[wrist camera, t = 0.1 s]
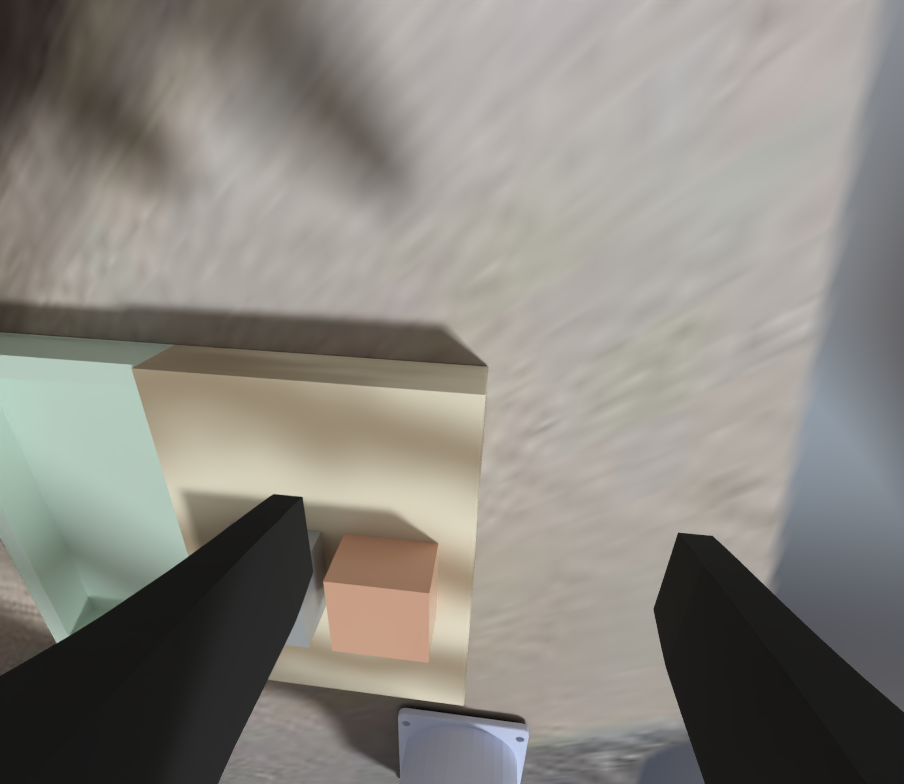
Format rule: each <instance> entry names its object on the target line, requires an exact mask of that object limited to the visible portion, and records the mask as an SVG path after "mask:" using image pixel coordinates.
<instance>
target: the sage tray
mask: <svg viewBox="0 0 904 784" xmlns="http://www.w3.org/2000/svg"><path fill="white" fill-rule="evenodd" d="M172 346H174V345H173V344H159V343H145V342H130V341H116V340H102V339H88V338H74V337H59V336H45V335H31V334H17V333H3V332H0V539H1V541H2V542H3V544H4V546H5V548H6V550H7V552H8V554H9V555H10V557H11V559H12V561H13V563H14V565H15V567H16V568H17V570H18V572H19V574H20V576H21V578H22V580H23V581H24V583H25V585H26V587H27V589H28V591H29V593H30V595H31V596H32V598H33V600H34V602H35V604H36V606H37V608H38V609H39V611H40V613H41V615H42V617H43V619H44V621H45V622H46V624H47V626H48V628H49V630H50V632H51V634H52V635H53V637H54V639H55V641H56V643H58V642H60V641H62V640H63V639H65V638H67V637H68V636H70V635H72V634H73V633H75V632H76V631H78V630H80V629H81V628H83V627H84V626H86V625H88V624H89V623H91V622H92V621H94V620H96V619H97V618H99V617H100V616H102V615H103V614H105V613H107V612H108V611H110V610H111V609H113V608H114V607H116V606H117V605H119V604H120V603H121V602H123V601H124V600H126V599H127V598H129V597H130V596H132V595H133V594H135V593H136V592H138V591H139V590H141V589H142V588H144V587H145V586H147V585H148V584H150V583H151V582H153V581H154V580H155V579H157V578H158V577H160V576H161V575H163V574H164V573H166V572H167V571H169V570H170V569H172V568H173V567H174V566H176V565H177V564H179V563H180V562H181V561H183V560H184V559H185V558H187V557H188V553H187V550H186V547H185V543H184V540H183V537H182V534H181V530H180V527H179V524H178V520H177V517H176V514H175V511H174V507H173V504H172V501H171V497H170V494H169V491H168V487H167V484H166V481H165V478H164V474H163V471H162V468H161V464H160V461H159V458H158V455H157V451H156V448H155V445H154V441H153V438H152V435H151V432H150V428H149V425H148V422H147V418H146V415H145V412H144V409H143V405H142V402H141V399H140V395H139V392H138V389H137V385H136V382H135V379H134V376H133V372H132V369H131V368H133V367H135V366H137V365H138V364H140V363H142V362H144V361H146V360H148V359H149V358H151V357H153V356H155V355H157V354H159V353H161V352H162V351H164V350H166V349H168V348H170V347H172Z"/></svg>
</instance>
